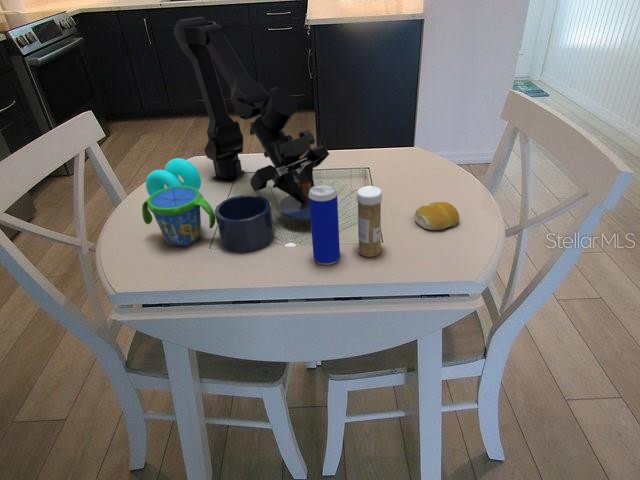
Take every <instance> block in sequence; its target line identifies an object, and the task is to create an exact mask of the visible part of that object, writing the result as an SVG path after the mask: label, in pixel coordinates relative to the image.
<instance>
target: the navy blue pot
mask: <svg viewBox="0 0 640 480" xmlns="http://www.w3.org/2000/svg"><path fill="white" fill-rule="evenodd" d="M272 213H273V212H272V207H271V202H270V201H269V199H268V198H266V197H263V196H261V195H257V194H241V195H237V196H232V197H229V198H227V199H225V200H223V201H221V202H220V203H219V204H218V205H216V207H215V209H214V214H215V218H216V219H215V222H216V226H217V228H218V229H217V231H218V234H219V240H220V242H221V245H222V247H223V248H224V249H226V250H227V251H230V252H232V253H242V254H243V253H252V252H256V251H259V250H261V249H264V248H266V247H267V246H268V245H269V244H271V243H272V241H274V237H275V229H274V222H273V214H272Z"/></svg>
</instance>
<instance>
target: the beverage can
mask: <svg viewBox="0 0 640 480" xmlns="http://www.w3.org/2000/svg"><path fill="white" fill-rule="evenodd" d="M338 201H339V200H338V192H337V190H336V187H335V186H334V185H332V184H329V183H320V184H314V186H313V187H312V188H311V189H310V191H309V208H310V219H309V220H310V230H311V231H310V232H311V240H312V241H311V243H312V254H313V255H312V256H313V260H314V261H315V262H316V263H318V264H319V265H321V266H322V265H323V266H328V265H333V264H335V263H337V262H338V261H339V259H340V257H341V249H340V227H339V205H338V204H339V203H338Z"/></svg>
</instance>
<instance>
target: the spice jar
mask: <svg viewBox="0 0 640 480" xmlns="http://www.w3.org/2000/svg"><path fill="white" fill-rule="evenodd" d="M382 200H383V191H382V189H381V188H379V187H378V186H375V185H374V186H373V185H366V186H362V187H359V188H358V189H357V191H356V201H357V235H358V236H357V237H358V249H357V250H358V253H359V254H360V255H361V256H363V257H367V258H372V257H376V256H378V255H380V254H381V252H382V248H381V238H382V216H381V212H382V211H381V210H382V207H381V206H382V205H381V204H382Z"/></svg>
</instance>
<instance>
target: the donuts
mask: <svg viewBox="0 0 640 480" xmlns="http://www.w3.org/2000/svg"><path fill="white" fill-rule="evenodd" d="M180 177H181V178H180ZM173 186H191V187H194V188H196V189H198V190H199V191H200V189H201V186H202V177H201V174H200V172H199V170H198V168H197V167H196V166H195V165H194V164H193V163H192V162H190V161H189V160H187V159H185V158H181V157H175V158H172V159H170V160H169V161H168V162H167V163H166V165H165V167H164V169H155V170H153V171H151V172H149V174H148V175H147V177H146V180H145V188H146V191H147V194H148V196H149V197H150V196H151V195H152V194H154V193H155V192H157V191H159V190H161V189H165V188H168V187H173Z"/></svg>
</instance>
